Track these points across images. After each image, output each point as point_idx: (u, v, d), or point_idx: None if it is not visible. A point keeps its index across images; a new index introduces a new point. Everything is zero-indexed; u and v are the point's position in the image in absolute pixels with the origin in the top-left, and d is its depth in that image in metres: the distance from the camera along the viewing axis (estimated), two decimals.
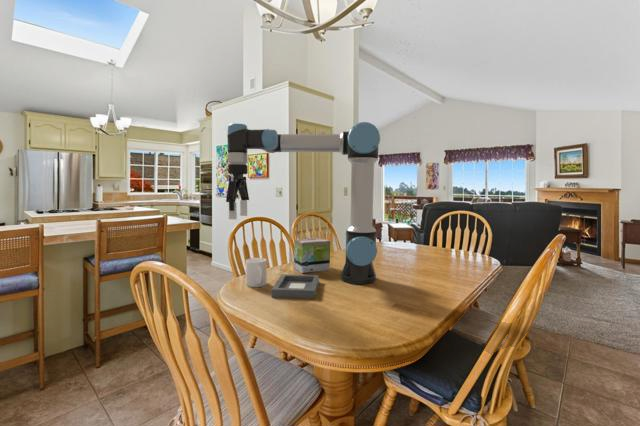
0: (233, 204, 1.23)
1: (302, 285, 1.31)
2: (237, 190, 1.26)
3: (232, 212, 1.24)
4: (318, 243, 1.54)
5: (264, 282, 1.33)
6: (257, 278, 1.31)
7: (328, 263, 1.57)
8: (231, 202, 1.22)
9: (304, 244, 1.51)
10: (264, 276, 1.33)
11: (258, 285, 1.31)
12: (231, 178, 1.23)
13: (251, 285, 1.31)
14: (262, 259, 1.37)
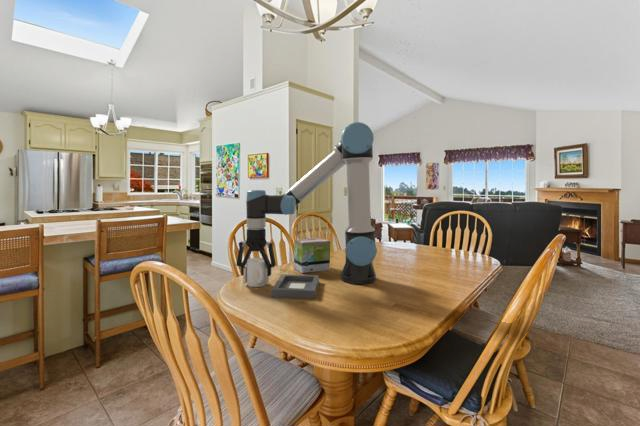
0: (242, 269, 1.33)
1: (302, 285, 1.31)
2: (247, 255, 1.32)
3: None
4: (318, 243, 1.54)
5: None
6: (258, 278, 1.31)
7: (328, 263, 1.57)
8: None
9: (304, 244, 1.51)
10: None
11: (259, 285, 1.31)
12: None
13: (252, 285, 1.31)
14: (263, 259, 1.37)
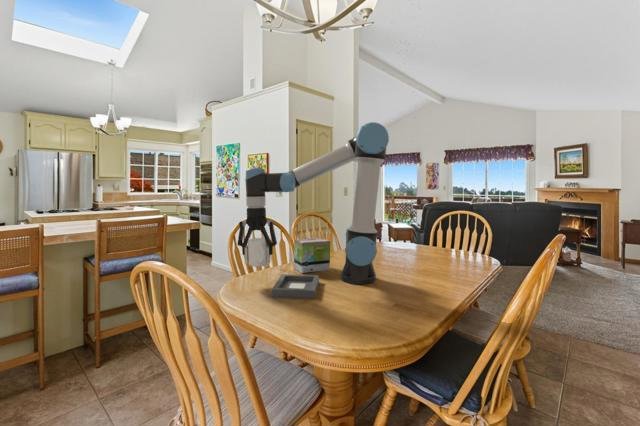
0: (243, 249, 1.32)
1: (302, 285, 1.31)
2: (248, 234, 1.31)
3: None
4: (318, 243, 1.54)
5: (266, 261, 1.32)
6: (259, 257, 1.30)
7: (328, 263, 1.57)
8: None
9: (304, 244, 1.51)
10: (266, 255, 1.32)
11: (260, 264, 1.30)
12: None
13: (253, 264, 1.30)
14: (264, 239, 1.36)
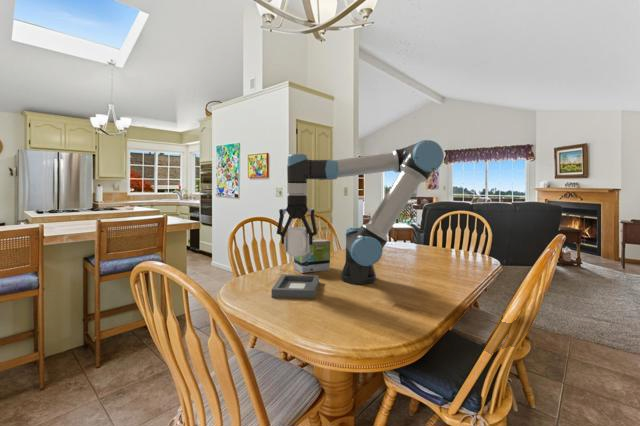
0: (282, 238, 1.27)
1: (302, 285, 1.31)
2: (288, 223, 1.26)
3: None
4: (318, 243, 1.54)
5: (306, 251, 1.28)
6: (299, 246, 1.25)
7: (328, 263, 1.57)
8: None
9: None
10: (306, 245, 1.27)
11: (300, 254, 1.26)
12: None
13: (293, 254, 1.26)
14: (303, 228, 1.32)
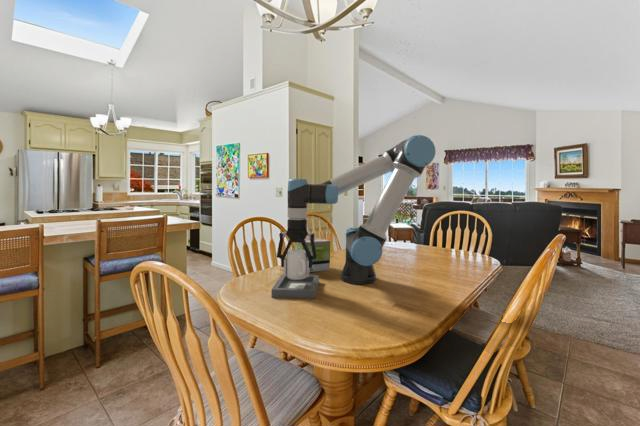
0: (282, 261, 1.28)
1: (302, 285, 1.31)
2: (288, 246, 1.27)
3: None
4: (318, 243, 1.54)
5: (306, 274, 1.28)
6: (299, 270, 1.26)
7: (328, 263, 1.57)
8: None
9: None
10: (306, 268, 1.28)
11: (300, 277, 1.27)
12: None
13: (293, 277, 1.26)
14: (302, 251, 1.33)
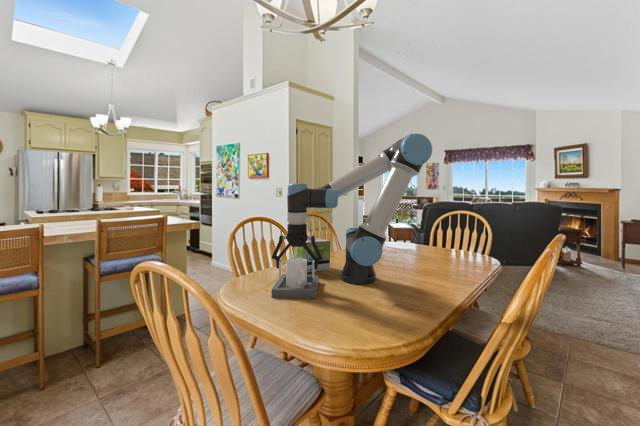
0: (277, 262, 1.28)
1: None
2: (285, 249, 1.27)
3: None
4: (318, 243, 1.54)
5: (305, 283, 1.29)
6: (298, 279, 1.26)
7: (328, 263, 1.57)
8: None
9: None
10: (305, 277, 1.28)
11: (299, 286, 1.27)
12: None
13: (292, 286, 1.27)
14: (302, 259, 1.33)
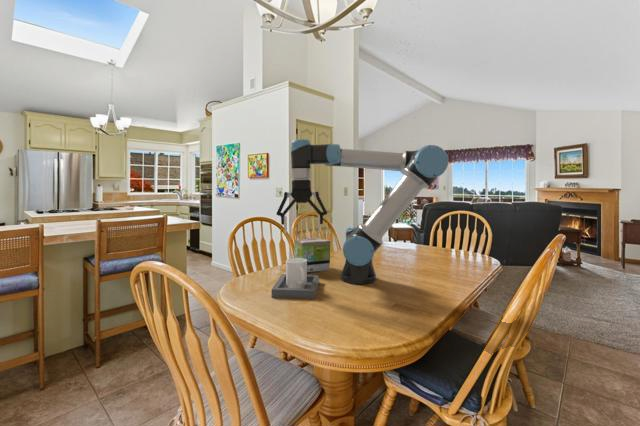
0: (282, 218, 1.30)
1: None
2: (290, 205, 1.29)
3: None
4: (318, 243, 1.54)
5: (305, 283, 1.29)
6: (298, 279, 1.26)
7: (328, 263, 1.57)
8: None
9: (304, 244, 1.51)
10: (305, 277, 1.28)
11: (299, 286, 1.27)
12: None
13: (292, 286, 1.27)
14: (302, 259, 1.33)
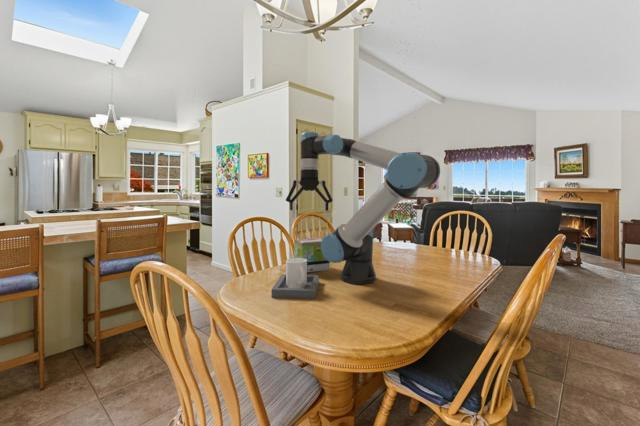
0: (291, 204, 1.42)
1: None
2: (298, 193, 1.41)
3: None
4: (318, 243, 1.54)
5: (305, 283, 1.29)
6: (298, 279, 1.26)
7: (328, 263, 1.57)
8: None
9: (304, 244, 1.51)
10: (305, 277, 1.28)
11: (299, 286, 1.27)
12: None
13: (292, 286, 1.27)
14: (302, 259, 1.33)
